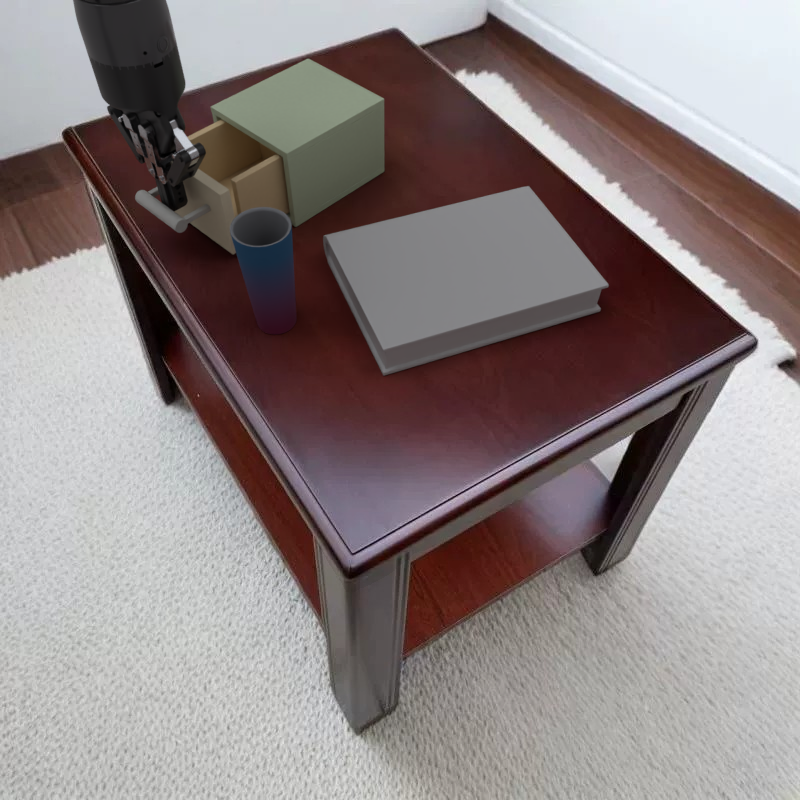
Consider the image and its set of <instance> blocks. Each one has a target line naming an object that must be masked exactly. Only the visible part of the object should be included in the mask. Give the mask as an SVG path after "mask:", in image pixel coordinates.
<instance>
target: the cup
mask: <svg viewBox="0 0 800 800" xmlns="http://www.w3.org/2000/svg"><path fill="white" fill-rule="evenodd" d="M230 234H231V237H232V241H233V244H234V247H235V251H236V253H235V254H236V257H237V260H238V264H239V267H240V271H241V274H242V278H243V281H244V284H245V288H246V292H247V295H248V298H249V301H250V305H251V307H252V311H253V314H254V319H255V322H256V325H257V327H258V328H259V329H260V330H261V331H262V332H264V333H265V334H268V335H283V334H285V333H287V332H289V331H291V330H292V329H293V328H294V327H295V325H296V324H297V319H298V317H297V300H296V298H297V297H296V285H295V284H296V281H295V263H294V243H293V241H294V240H293V225H292V224H291V220H290V218H289V217H288V216H287V215H286V214H285V213H284V212H282V211H280V210H278V209H275V208H270V207H257V208H252V209H249V210H246V211H244V212H242V213H240V214H239V215H237V216H236V217H235V218H234V219H233V221H232V222H231V225H230Z"/></svg>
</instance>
